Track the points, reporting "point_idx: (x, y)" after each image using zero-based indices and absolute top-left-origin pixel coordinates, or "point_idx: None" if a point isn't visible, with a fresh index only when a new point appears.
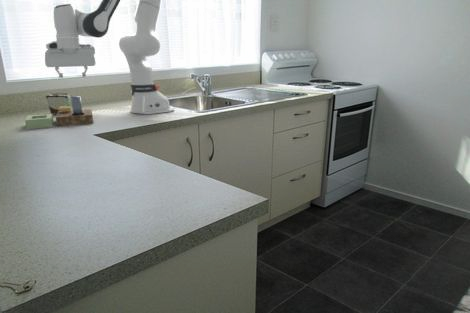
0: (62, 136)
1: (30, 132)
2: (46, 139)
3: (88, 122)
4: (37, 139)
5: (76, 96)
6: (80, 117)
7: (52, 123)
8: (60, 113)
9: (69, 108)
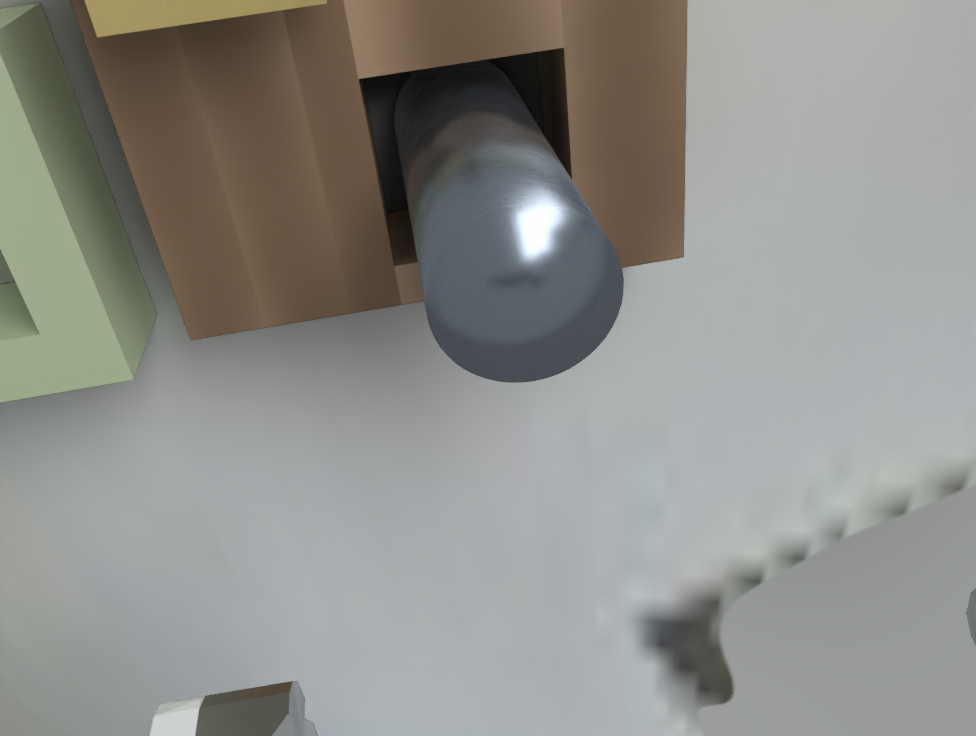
0: (391, 645)
1: (3, 498)
2: None
3: None
4: None
5: (540, 282)
6: None
7: (111, 219)
8: None
9: (305, 1)
